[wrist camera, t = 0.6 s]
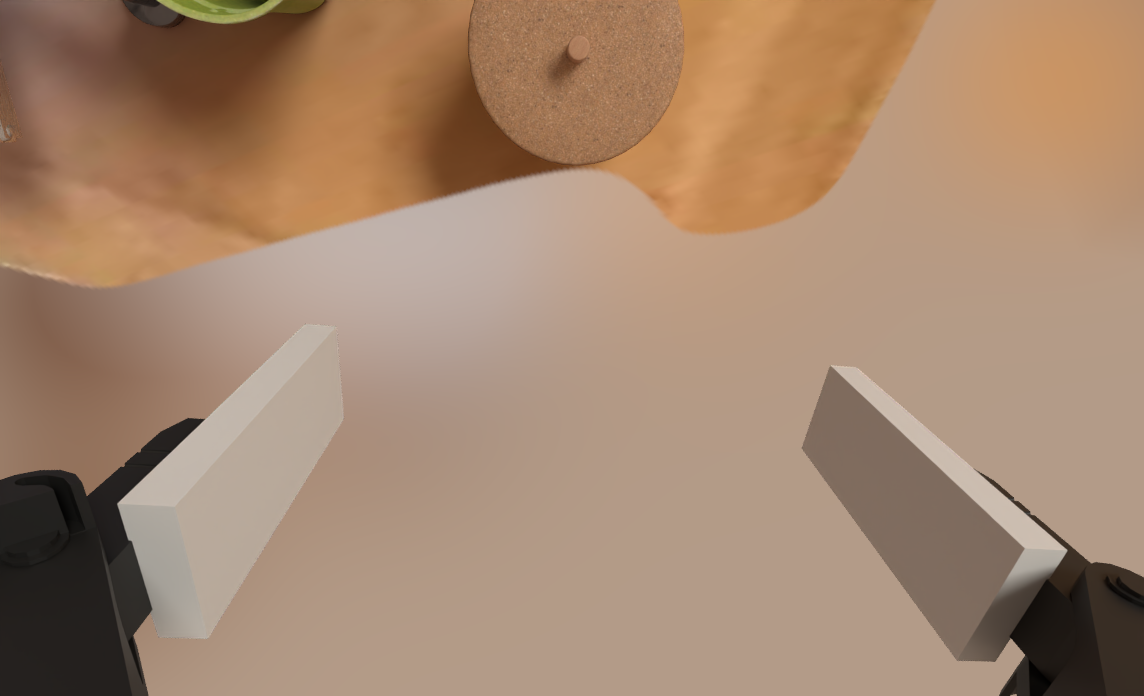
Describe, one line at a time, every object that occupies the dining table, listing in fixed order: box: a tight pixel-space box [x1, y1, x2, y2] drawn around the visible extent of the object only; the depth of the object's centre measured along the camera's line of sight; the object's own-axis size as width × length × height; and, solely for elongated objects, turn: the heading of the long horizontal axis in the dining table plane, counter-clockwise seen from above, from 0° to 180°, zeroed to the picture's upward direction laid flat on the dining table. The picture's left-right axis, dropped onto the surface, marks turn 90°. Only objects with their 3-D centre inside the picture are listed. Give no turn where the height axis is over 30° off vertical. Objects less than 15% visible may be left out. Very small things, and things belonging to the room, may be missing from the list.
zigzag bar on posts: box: [0, 0, 185, 143], centre depth 29 cm, size 11×16×7 cm
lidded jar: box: [468, 0, 684, 165], centre depth 29 cm, size 11×11×9 cm
